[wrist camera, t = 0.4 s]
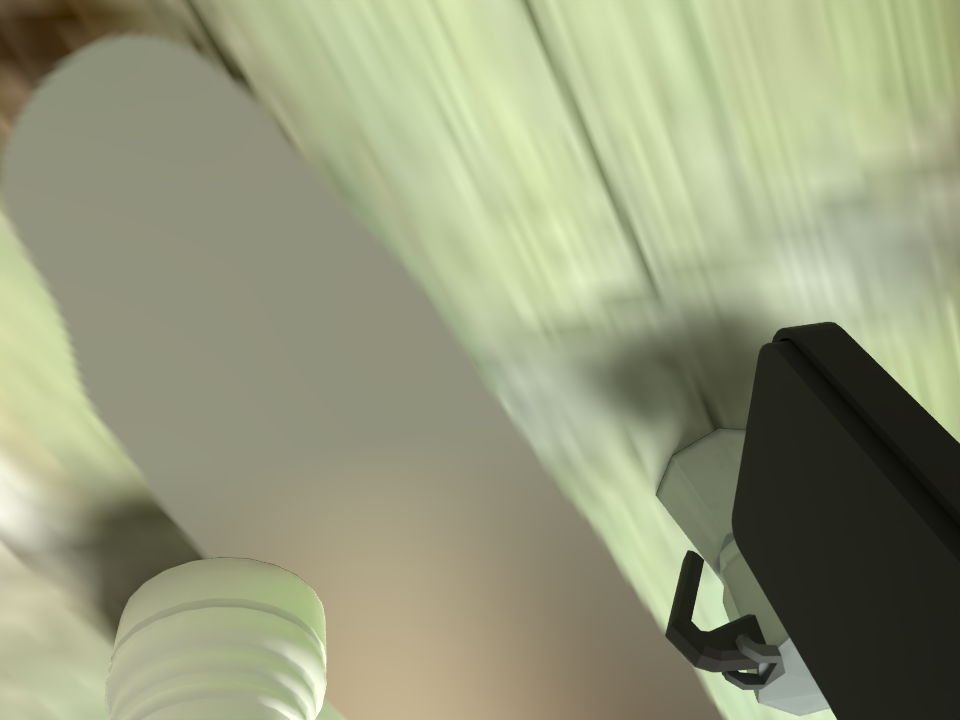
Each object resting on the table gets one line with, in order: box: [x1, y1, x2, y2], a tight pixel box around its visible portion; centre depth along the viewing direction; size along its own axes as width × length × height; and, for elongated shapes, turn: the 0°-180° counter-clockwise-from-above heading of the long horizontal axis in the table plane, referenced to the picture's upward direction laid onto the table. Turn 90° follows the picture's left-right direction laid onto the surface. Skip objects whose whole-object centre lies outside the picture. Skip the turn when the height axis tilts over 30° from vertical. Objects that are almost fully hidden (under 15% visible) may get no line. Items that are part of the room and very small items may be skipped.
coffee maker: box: [656, 428, 830, 716], centre depth 47 cm, size 15×9×18 cm, turn 78°
